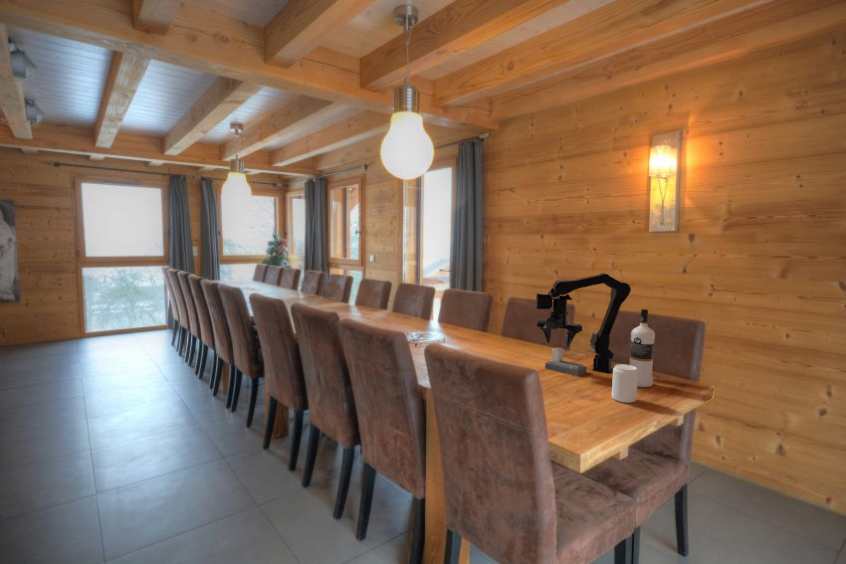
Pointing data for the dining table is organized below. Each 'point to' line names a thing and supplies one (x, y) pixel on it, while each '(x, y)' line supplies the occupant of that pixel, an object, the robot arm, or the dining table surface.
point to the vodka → (642, 351)
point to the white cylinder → (624, 383)
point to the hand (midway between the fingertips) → (558, 345)
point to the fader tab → (557, 354)
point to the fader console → (566, 367)
